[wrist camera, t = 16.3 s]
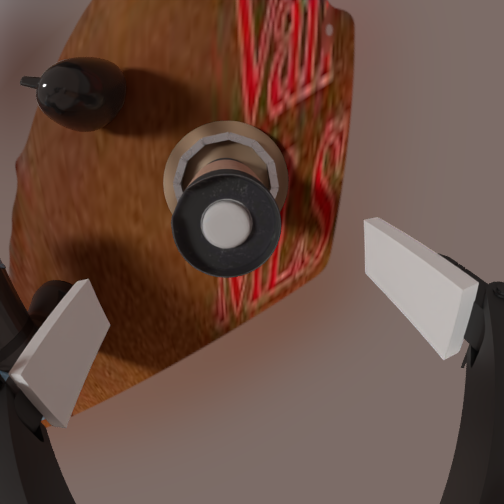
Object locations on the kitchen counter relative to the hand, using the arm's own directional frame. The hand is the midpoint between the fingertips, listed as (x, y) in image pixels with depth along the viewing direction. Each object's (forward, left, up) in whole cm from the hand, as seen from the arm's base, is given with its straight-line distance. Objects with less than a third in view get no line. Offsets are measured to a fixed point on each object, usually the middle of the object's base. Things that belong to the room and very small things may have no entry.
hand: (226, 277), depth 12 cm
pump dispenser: (-15, +17, -29) cm, 37 cm away
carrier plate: (0, 0, -29) cm, 29 cm away
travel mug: (0, 0, -27) cm, 27 cm away
